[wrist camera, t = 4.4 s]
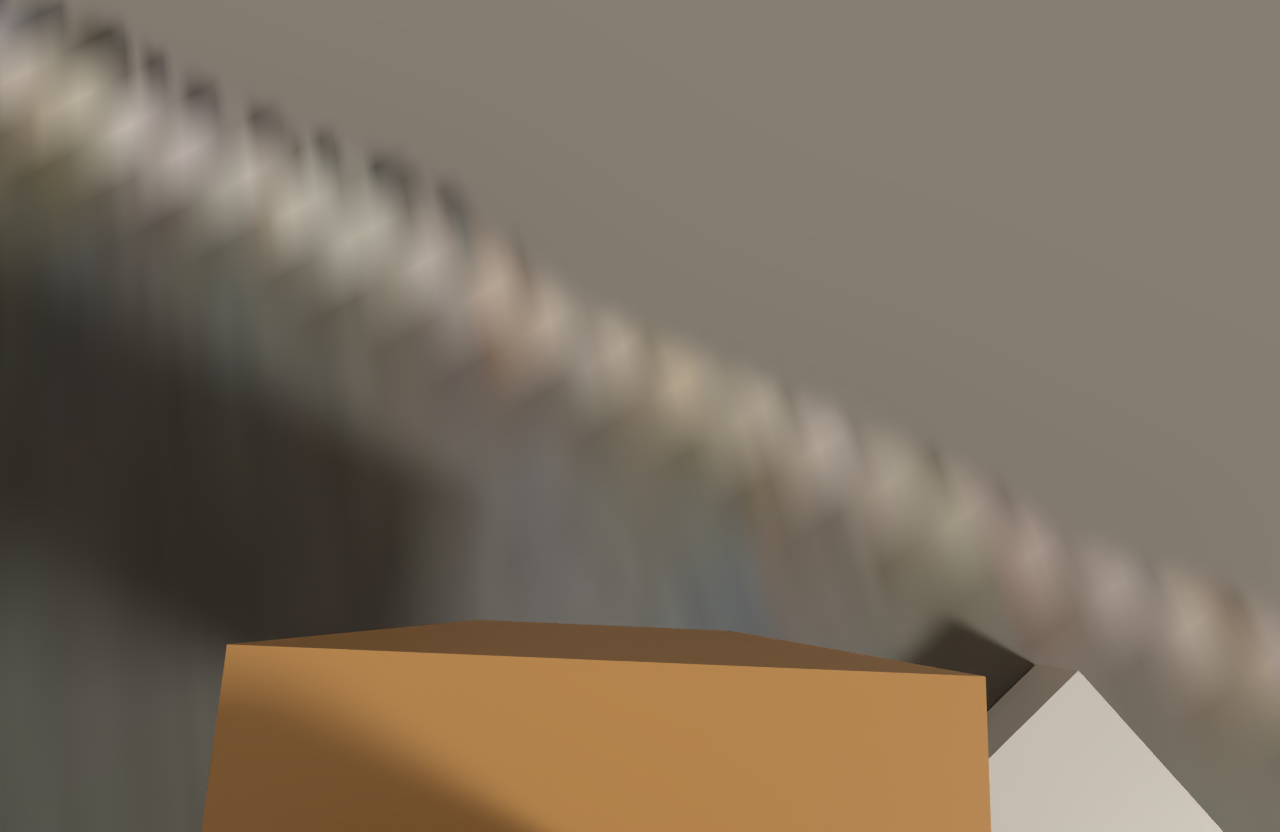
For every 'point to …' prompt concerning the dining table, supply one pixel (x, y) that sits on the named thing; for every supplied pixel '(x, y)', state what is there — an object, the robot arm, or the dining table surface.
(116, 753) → the dining table surface
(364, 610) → the dining table surface
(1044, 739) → the socket plate
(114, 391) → the dining table surface
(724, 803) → the plug
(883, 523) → the dining table surface
